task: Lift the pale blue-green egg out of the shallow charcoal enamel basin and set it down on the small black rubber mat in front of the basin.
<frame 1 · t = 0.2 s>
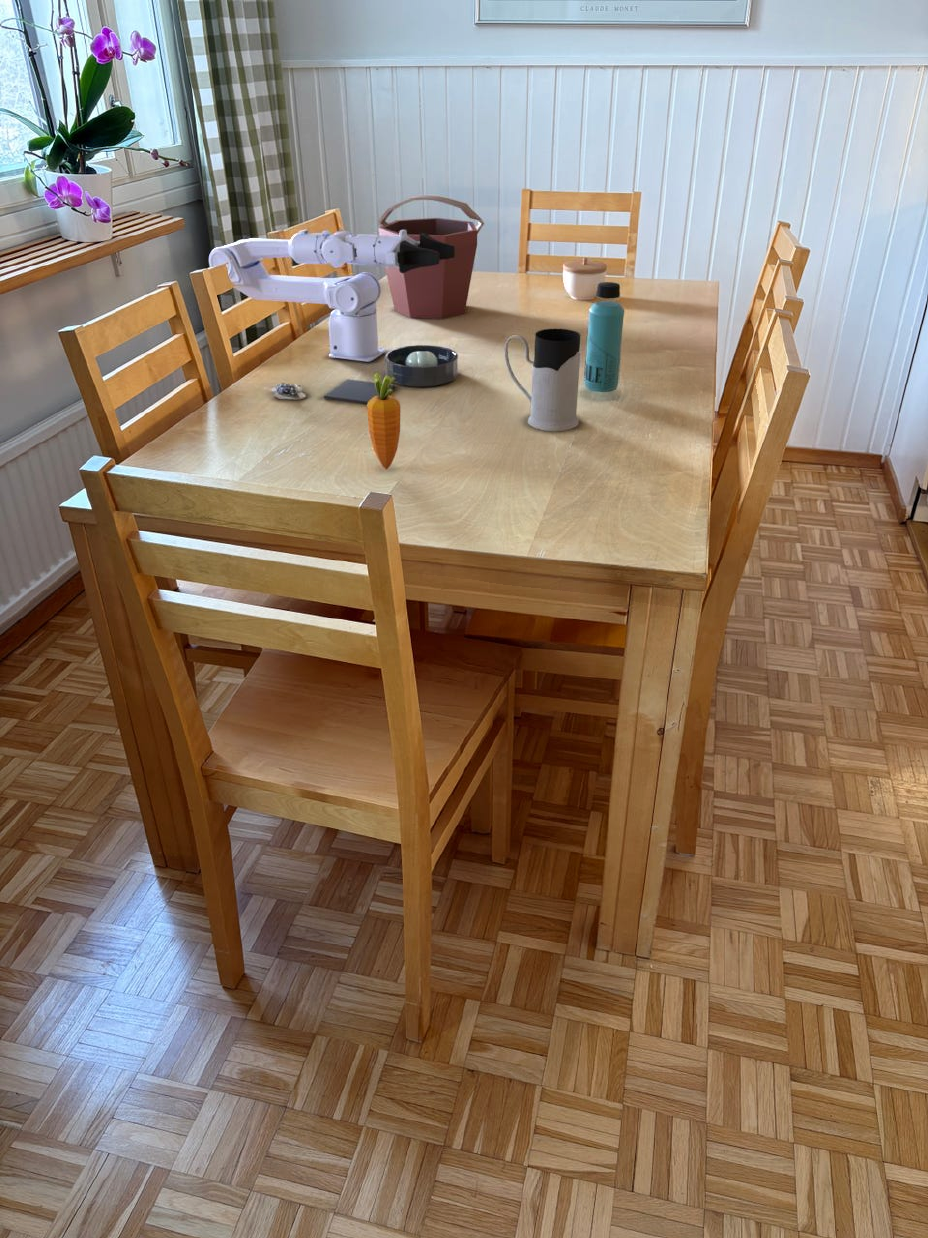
hand: (446, 254, 176), 21 cm above the table, tool horizontal, fingers open, 7 cm apart
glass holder: (539, 419, 163), on the table
trinket box: (582, 297, 234), on the table
basin: (421, 376, 182), on the table
beverage bottle: (599, 395, 174), on the table
bucket: (430, 310, 224), on the table
carrot: (386, 469, 145), on the table
blueberries: (290, 394, 174), on the table
mat: (360, 392, 174), on the table
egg: (421, 363, 181), point 3 cm above the table, touching basin
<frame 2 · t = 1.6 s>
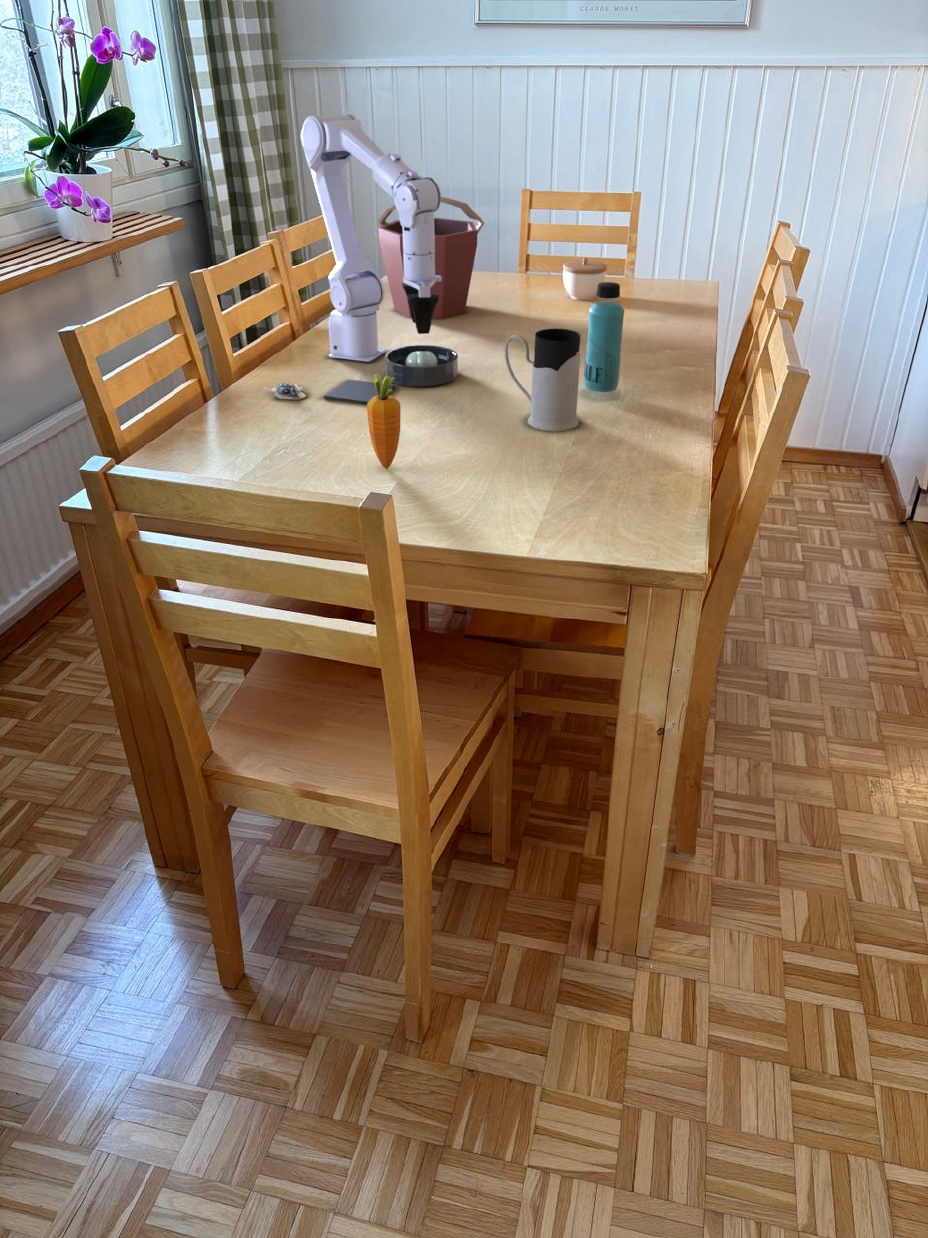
hand: (420, 327, 177), 9 cm above the table, tool pointing down, fingers open, 7 cm apart
nothing on the table moved.
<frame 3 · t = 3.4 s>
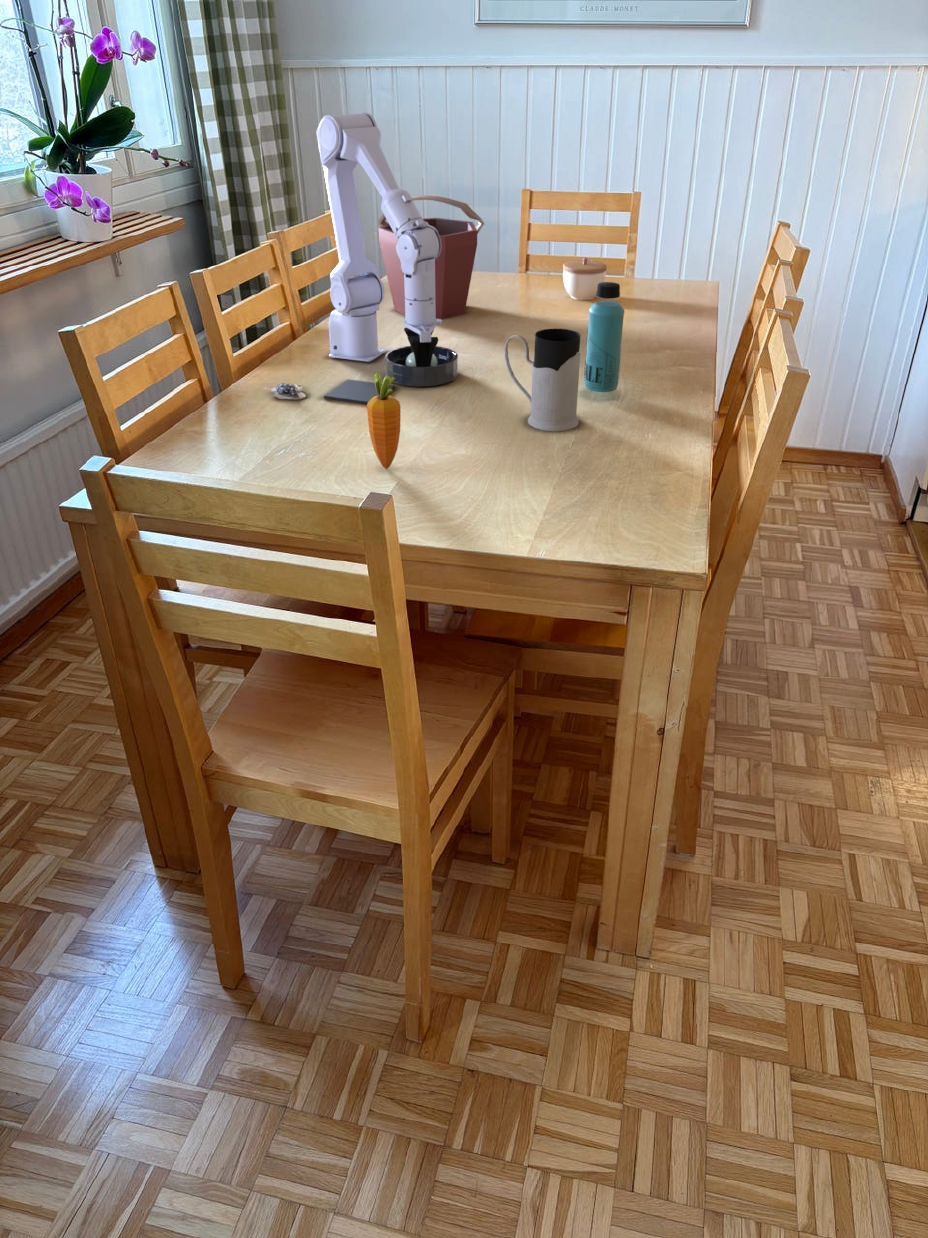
hand: (421, 369, 182), 1 cm above the table, tool pointing down, fingers closed on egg, 4 cm apart
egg: (421, 362, 181), point 3 cm above the table, touching basin, gripper
everything else where it was.
when the fingers open (1 cm above the table, at t = 7.9 s): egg stays where it is, resting on mat.
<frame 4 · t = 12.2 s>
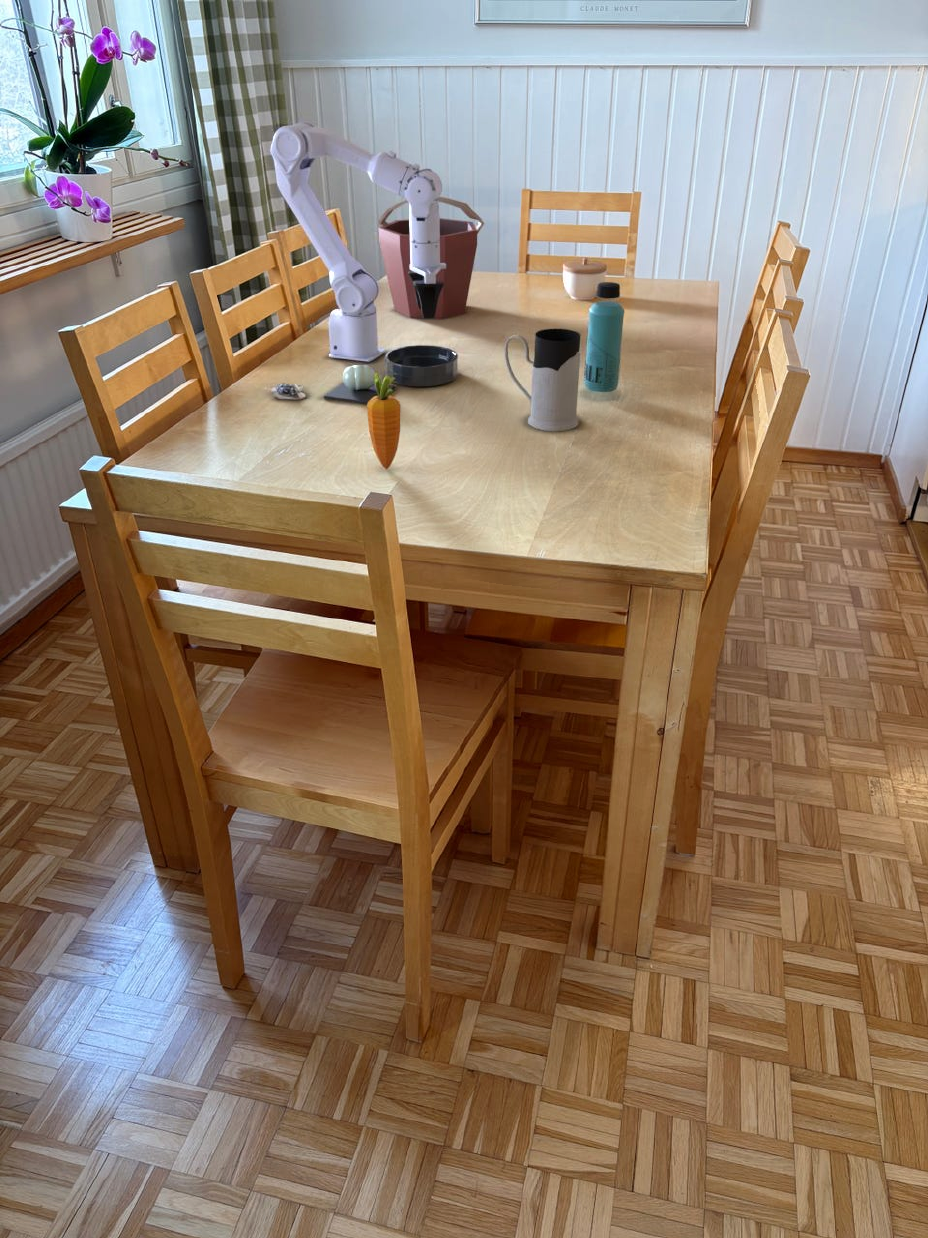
hand: (426, 312, 186), 9 cm above the table, tool pointing down, fingers open, 7 cm apart
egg: (359, 377, 173), point 3 cm above the table, tilted 20°, touching mat
everything else where it was.
at the end: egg inside the target area on the mat (0.8 cm from its centre), point 2.7 cm above the mat's base; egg touching mat; the gripper is holding nothing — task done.
